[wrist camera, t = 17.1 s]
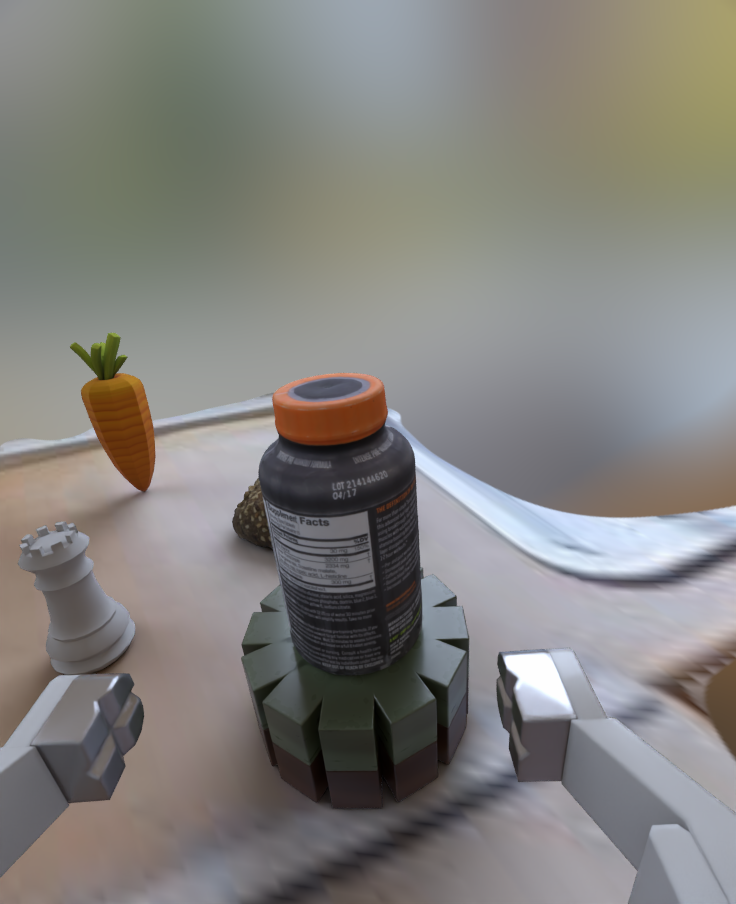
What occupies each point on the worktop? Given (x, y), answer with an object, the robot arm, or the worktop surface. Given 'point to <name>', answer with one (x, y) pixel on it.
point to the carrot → (119, 412)
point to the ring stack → (361, 706)
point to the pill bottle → (343, 523)
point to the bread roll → (252, 518)
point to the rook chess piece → (75, 602)
